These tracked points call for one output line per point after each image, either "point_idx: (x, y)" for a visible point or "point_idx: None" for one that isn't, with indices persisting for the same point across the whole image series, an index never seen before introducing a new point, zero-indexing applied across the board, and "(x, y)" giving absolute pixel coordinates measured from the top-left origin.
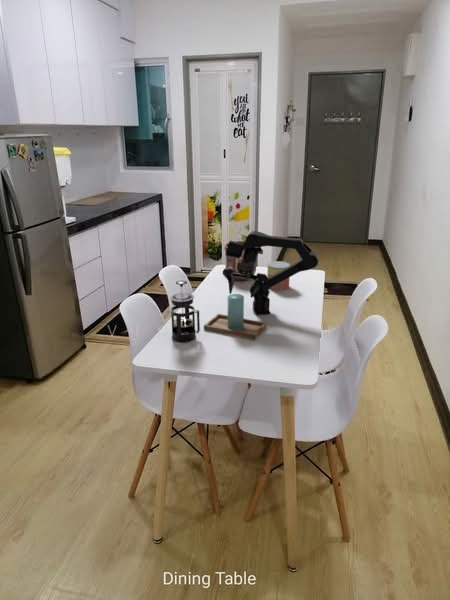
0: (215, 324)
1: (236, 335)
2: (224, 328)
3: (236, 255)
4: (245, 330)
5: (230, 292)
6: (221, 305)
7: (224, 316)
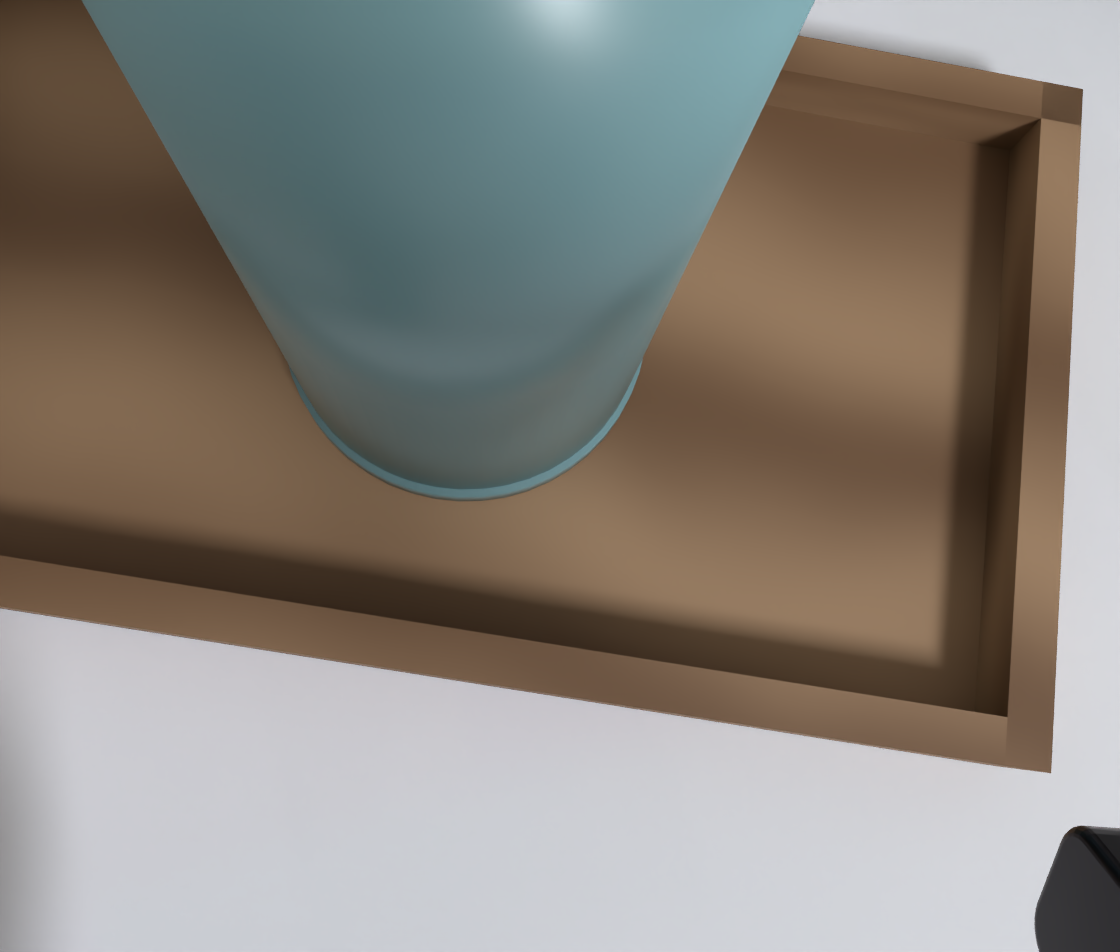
0: (905, 326)
1: None
2: None
3: None
4: None
5: (1093, 855)
6: None
7: (853, 692)
